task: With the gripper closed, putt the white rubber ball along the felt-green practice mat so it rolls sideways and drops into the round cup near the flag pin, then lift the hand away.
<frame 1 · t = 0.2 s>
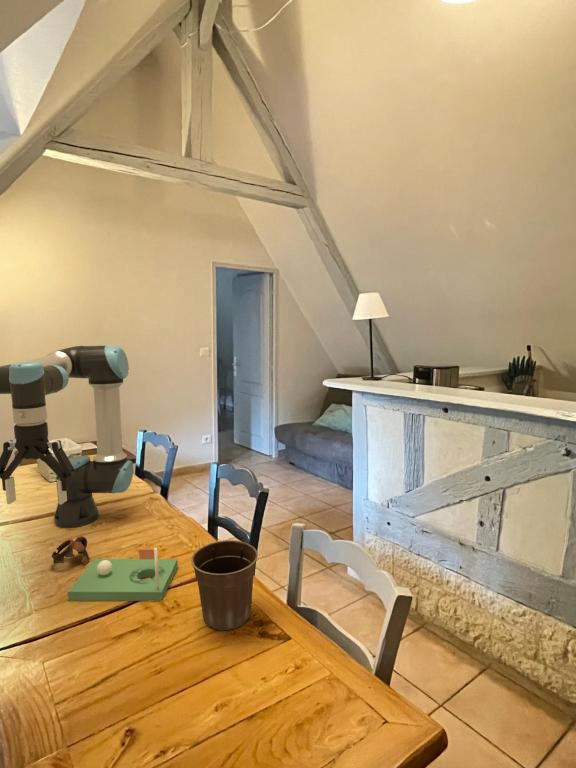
hand: (37, 502, 120), 27 cm above the table, tool pointing down, fingers open, 13 cm apart
green: (126, 582, 131), on the table
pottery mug: (74, 562, 142), on the table
ball: (104, 567, 130), point 4 cm above the table, touching green
flag pin: (157, 597, 124), resting on green
plant pot: (226, 616, 116), on the table
storage basket: (59, 474, 223), on the table
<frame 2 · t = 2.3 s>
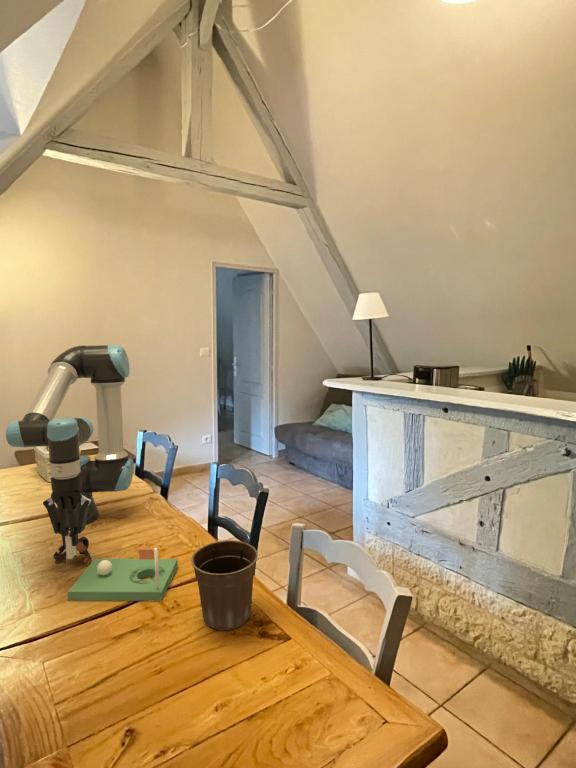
hand: (71, 556, 129), 8 cm above the table, tool pointing down, fingers closed
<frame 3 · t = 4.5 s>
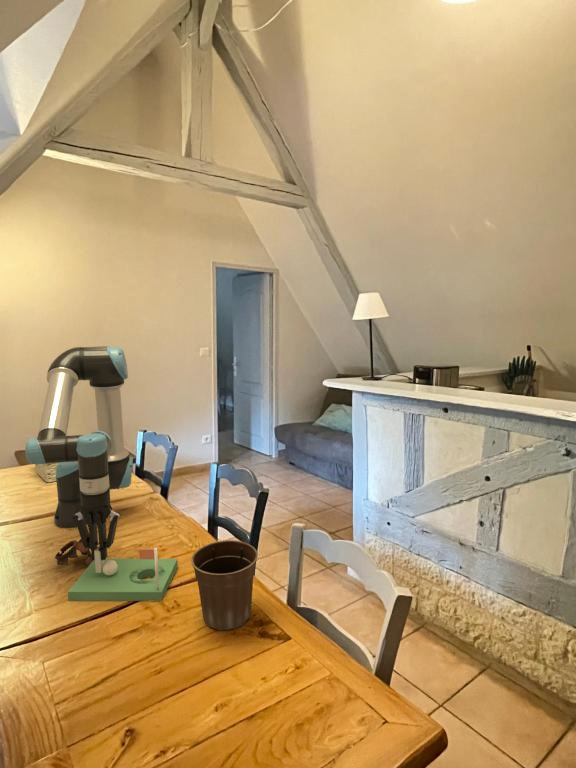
hand: (100, 570, 130), 4 cm above the table, tool pointing down, fingers closed
ball: (110, 567, 130), point 4 cm above the table, tilted 44°, touching green
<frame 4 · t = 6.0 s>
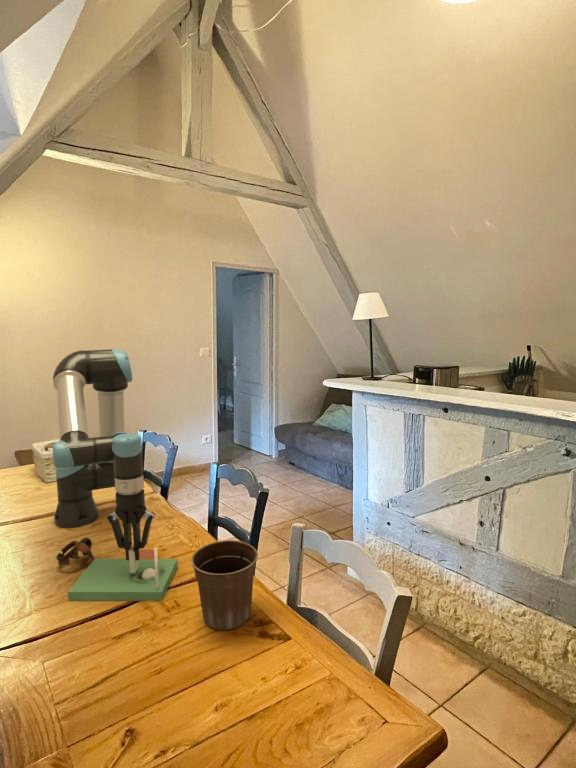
hand: (134, 570, 130), 4 cm above the table, tool pointing down, fingers closed
ball: (149, 575, 130), point 2 cm above the table, tilted 43°
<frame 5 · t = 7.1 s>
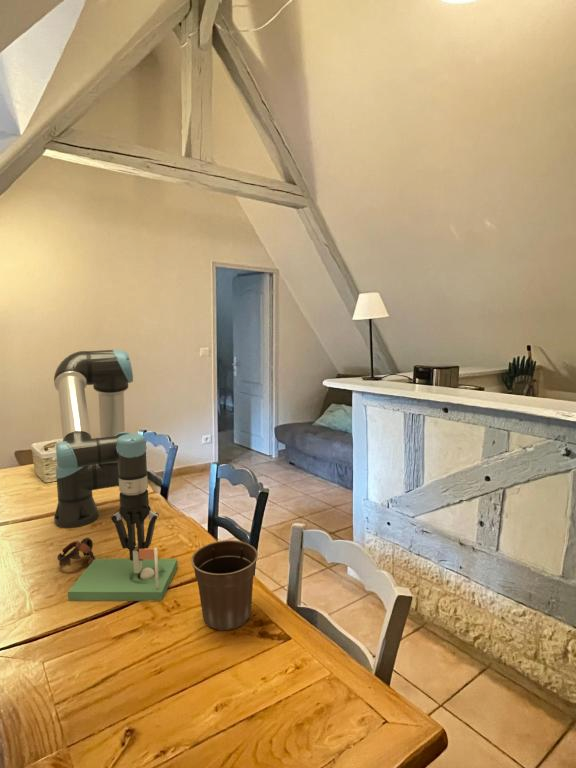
hand: (138, 570, 130), 4 cm above the table, tool pointing down, fingers closed
ball: (147, 575, 131), point 2 cm above the table, tilted 48°
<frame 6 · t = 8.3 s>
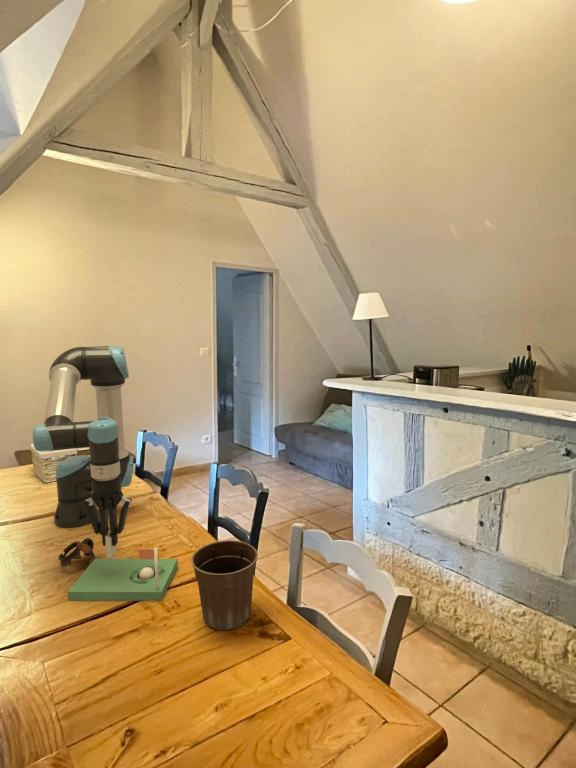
hand: (111, 555, 130), 8 cm above the table, tool pointing down, fingers closed
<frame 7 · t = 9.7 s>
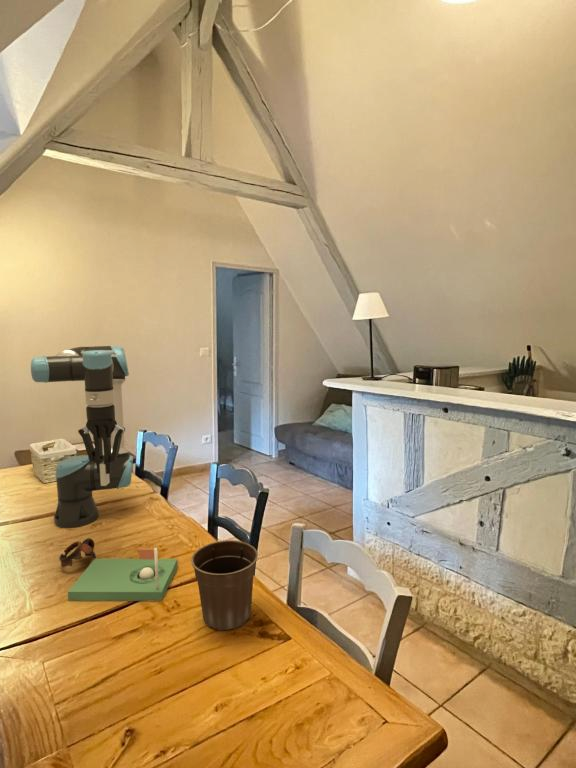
hand: (105, 484, 134), 26 cm above the table, tool pointing down, fingers closed
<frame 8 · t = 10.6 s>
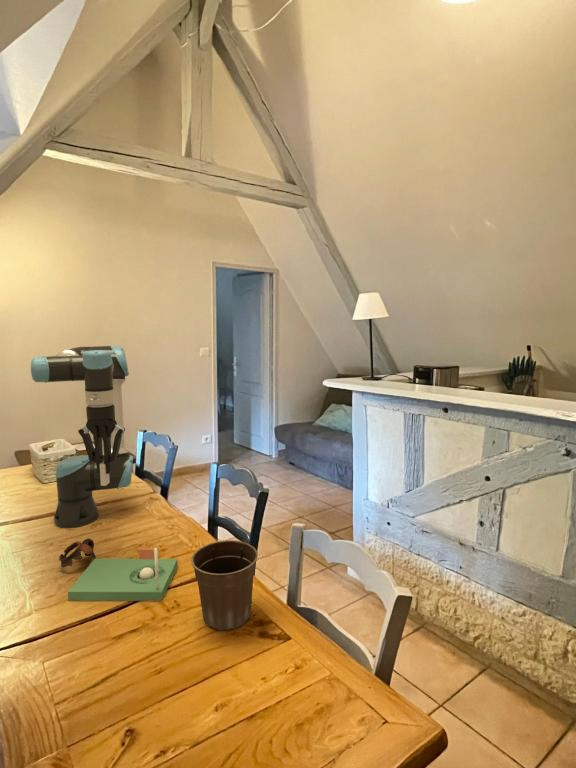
hand: (105, 483, 134), 26 cm above the table, tool pointing down, fingers closed
at the end: ball 0.6 cm from the target spot in the green, point 2.0 cm above the green's base; ball touching table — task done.
